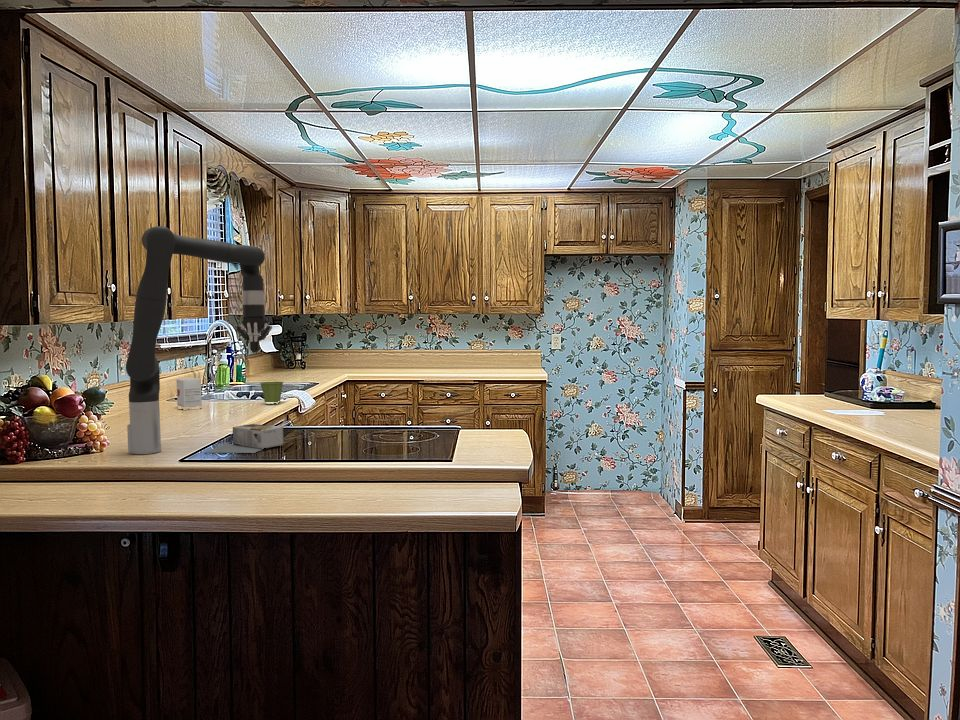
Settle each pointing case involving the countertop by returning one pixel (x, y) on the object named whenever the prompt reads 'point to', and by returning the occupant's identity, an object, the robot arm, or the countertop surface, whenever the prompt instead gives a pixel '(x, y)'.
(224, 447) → the mat
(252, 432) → the coffee box
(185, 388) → the supplement box
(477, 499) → the countertop surface
